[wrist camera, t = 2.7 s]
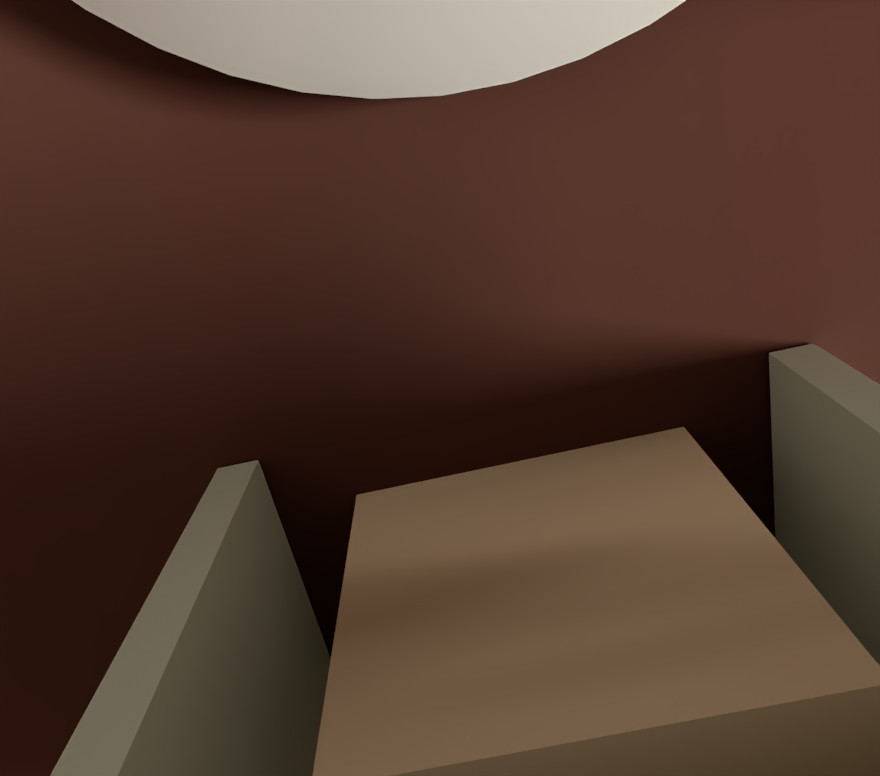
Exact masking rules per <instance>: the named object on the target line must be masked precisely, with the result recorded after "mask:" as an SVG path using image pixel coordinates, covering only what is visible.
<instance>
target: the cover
mask: <svg viewBox="0 0 880 776" xmlns="http://www.w3.org/2000/svg"><path fill="white" fill-rule="evenodd" d="M769 374H770V402H771V430H772V458H773V486H774V515H775V539H776V540H777V541H778V542H779V544H780V545H781V546H782V547H783V549H784V550H785V551H786V552H787V553H788V555H789V556H790V557H791V558H792V560H793V561H794V562H795V563H796V564H797V566H798V567H799V568H800V569H801V571H802V572H803V573H804V574H805V575H806V577H807V578H808V579H809V580H810V582H811V583H812V584H813V585H814V586H815V588H816V589H817V590H818V591H819V593H820V594H821V595H822V596H823V597H824V599H825V600H826V601H827V602H828V604H829V605H830V606H831V607H832V608H833V610H834V611H835V612H836V613H837V615H838V616H839V617H840V618H841V619H842V621H843V622H844V623H845V624H846V626H847V627H848V628H849V629H850V630H851V632H852V633H853V634H854V635H855V637H856V638H857V639H858V640H859V641H860V643H861V644H862V645H863V646H864V648H865V649H866V650H867V651H868V652H869V654H870V655H871V656H872V657H873V659H874V660H875V661H876V662H877V663H878V665H879V666H880V384H878V383H877V382H875V381H873V380H872V379H870V378H868V377H867V376H865V375H864V374H862V373H860V372H859V371H857V370H855V369H854V368H852V367H851V366H849V365H847V364H846V363H844V362H843V361H841V360H839V359H838V358H836V357H834V356H833V355H831V354H830V353H828V352H826V351H825V350H823V349H821V348H820V347H818V346H817V345H815V344H808V345H803V346H799V347H794V348H789V349H784V350H780V351H775V352H770V353H769ZM330 661H331V658H330V655H329V652H328V650H327V647H326V644H325V641H324V639H323V636H322V633H321V630H320V628H319V625H318V622H317V620H316V617H315V614H314V611H313V609H312V606H311V603H310V600H309V598H308V595H307V592H306V589H305V587H304V584H303V581H302V578H301V576H300V573H299V570H298V567H297V565H296V562H295V559H294V556H293V554H292V551H291V548H290V545H289V543H288V540H287V537H286V534H285V532H284V529H283V526H282V523H281V521H280V518H279V515H278V512H277V510H276V507H275V504H274V501H273V499H272V496H271V493H270V490H269V488H268V485H267V482H266V479H265V477H264V474H263V471H262V468H261V466H260V463H259V460H255V461H251V462H246V463H241V464H236V465H231V466H227V467H222V468H218V469H217V471H216V472H215V474H214V476H213V478H212V480H211V482H210V483H209V485H208V487H207V489H206V491H205V493H204V494H203V496H202V498H201V500H200V502H199V504H198V505H197V507H196V509H195V511H194V513H193V515H192V516H191V518H190V520H189V522H188V524H187V526H186V527H185V529H184V531H183V533H182V535H181V537H180V538H179V540H178V542H177V544H176V546H175V548H174V549H173V551H172V553H171V555H170V557H169V559H168V560H167V562H166V564H165V566H164V568H163V570H162V571H161V573H160V575H159V577H158V579H157V581H156V582H155V584H154V586H153V588H152V590H151V592H150V593H149V595H148V597H147V599H146V601H145V603H144V604H143V606H142V608H141V610H140V612H139V614H138V615H137V617H136V619H135V621H134V623H133V625H132V626H131V628H130V630H129V632H128V634H127V636H126V637H125V639H124V641H123V643H122V645H121V647H120V648H119V650H118V652H117V654H116V656H115V658H114V659H113V661H112V663H111V665H110V667H109V669H108V670H107V672H106V674H105V676H104V678H103V680H102V681H101V683H100V685H99V687H98V689H97V691H96V692H95V694H94V696H93V698H92V700H91V702H90V703H89V705H88V707H87V709H86V711H85V713H84V714H83V716H82V718H81V720H80V722H79V724H78V725H77V727H76V729H75V731H74V733H73V735H72V736H71V738H70V740H69V742H68V744H67V746H66V747H65V749H64V751H63V753H62V755H61V757H60V758H59V760H58V762H57V764H56V766H55V768H54V769H53V771H52V773H51V775H50V776H312V775H313V769H314V762H315V756H316V750H317V743H318V737H319V731H320V724H321V718H322V712H323V705H324V699H325V692H326V686H327V680H328V673H329V667H330Z"/></svg>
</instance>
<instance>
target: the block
mask: <svg viewBox="0 0 880 776" xmlns="http://www.w3.org/2000/svg"><path fill="white" fill-rule="evenodd" d="M312 776H880V666H879V665H878V663H877V662H876V661H875V660H874V659H873V657H872V656H871V655H870V654H869V652H868V651H867V650H866V649H865V648H864V646H863V645H862V644H861V643H860V641H859V640H858V639H857V638H856V637H855V635H854V634H853V633H852V632H851V630H850V629H849V628H848V627H847V626H846V624H845V623H844V622H843V621H842V619H841V618H840V617H839V616H838V615H837V613H836V612H835V611H834V610H833V608H832V607H831V606H830V605H829V604H828V602H827V601H826V600H825V599H824V597H823V596H822V595H821V594H820V593H819V591H818V590H817V589H816V588H815V586H814V585H813V584H812V583H811V582H810V580H809V579H808V578H807V577H806V575H805V574H804V573H803V572H802V571H801V569H800V568H799V567H798V566H797V564H796V563H795V562H794V561H793V560H792V558H791V557H790V556H789V555H788V553H787V552H786V551H785V550H784V549H783V547H782V546H781V545H780V544H779V542H778V541H777V540H776V539H775V537H774V536H773V535H772V534H771V533H770V531H769V530H768V529H767V528H766V526H765V525H764V524H763V523H762V522H761V520H760V519H759V518H758V517H757V515H756V514H755V513H754V512H753V511H752V509H751V508H750V507H749V506H748V504H747V503H746V502H745V501H744V500H743V498H742V497H741V496H740V495H739V493H738V492H737V491H736V490H735V489H734V487H733V486H732V485H731V484H730V482H729V481H728V480H727V479H726V478H725V476H724V475H723V474H722V473H721V471H720V470H719V469H718V468H717V467H716V465H715V464H714V463H713V462H712V460H711V459H710V458H709V457H708V456H707V454H706V453H705V452H704V451H703V449H702V448H701V447H700V446H699V445H698V443H697V442H696V441H695V440H694V438H693V437H692V436H691V435H690V434H689V432H688V431H687V430H686V429H685V427H680V428H675V429H671V430H666V431H661V432H656V433H651V434H647V435H642V436H637V437H632V438H627V439H623V440H618V441H613V442H608V443H603V444H598V445H594V446H589V447H584V448H579V449H574V450H570V451H565V452H560V453H555V454H550V455H546V456H541V457H536V458H531V459H526V460H522V461H517V462H512V463H507V464H502V465H498V466H493V467H488V468H483V469H478V470H474V471H469V472H464V473H459V474H454V475H449V476H445V477H440V478H435V479H430V480H425V481H421V482H416V483H411V484H406V485H401V486H397V487H392V488H387V489H382V490H377V491H373V492H368V493H363V494H358V495H356V501H355V508H354V514H353V521H352V527H351V533H350V540H349V546H348V552H347V559H346V565H345V571H344V578H343V584H342V591H341V597H340V603H339V610H338V616H337V622H336V629H335V635H334V642H333V648H332V654H331V661H330V667H329V673H328V680H327V686H326V692H325V699H324V705H323V712H322V718H321V724H320V731H319V737H318V743H317V750H316V756H315V762H314V769H313V775H312Z"/></svg>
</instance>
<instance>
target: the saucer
mask: <svg viewBox="0 0 880 776" xmlns="http://www.w3.org/2000/svg"><path fill="white" fill-rule="evenodd" d="M72 1H74V2H75V3H76V4H78V5H79V6H81V7H82V8H84V9H85V10H87V11H89V12H91V13H93V14H95V15H96V16H98V17H100V18H102V19H104V20H106V21H108V22H110V23H112V24H113V25H115V26H117V27H119V28H121V29H123V30H125V31H127V32H128V33H130V34H132V35H134V36H136V37H138V38H140V39H142V40H144V41H145V42H147V43H149V44H151V45H153V46H155V47H157V48H159V49H162V50H164V51H167V52H170V53H172V54H175V55H177V56H180V57H183V58H185V59H188V60H191V61H193V62H196V63H199V64H201V65H204V66H206V67H209V68H212V69H214V70H217V71H220V72H222V73H225V74H227V75H230V76H235V77H239V78H243V79H247V80H252V81H256V82H260V83H264V84H269V85H273V86H277V87H281V88H286V89H290V90H294V91H298V92H304V93H315V94H326V95H336V96H347V97H358V98H368V99H390V98H410V97H431V96H443V95H448V94H454V93H459V92H464V91H469V90H474V89H480V88H485V87H490V86H495V85H501V84H506V83H511V82H515V81H518V80H521V79H524V78H527V77H529V76H532V75H535V74H538V73H541V72H544V71H547V70H550V69H553V68H556V67H559V66H562V65H565V64H568V63H570V62H573V61H576V60H579V59H582V58H584V57H586V56H588V55H590V54H592V53H594V52H596V51H598V50H600V49H602V48H604V47H606V46H608V45H610V44H612V43H614V42H616V41H618V40H620V39H622V38H624V37H626V36H628V35H630V34H632V33H634V32H636V31H638V30H640V29H642V28H644V27H646V26H648V25H650V24H652V23H653V22H655V21H656V20H658V19H659V18H661V17H662V16H664V15H665V14H667V13H668V12H670V11H671V10H673V9H674V8H675V7H677V6H678V5H680V4H681V3H683V2H684V1H686V0H72Z"/></svg>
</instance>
